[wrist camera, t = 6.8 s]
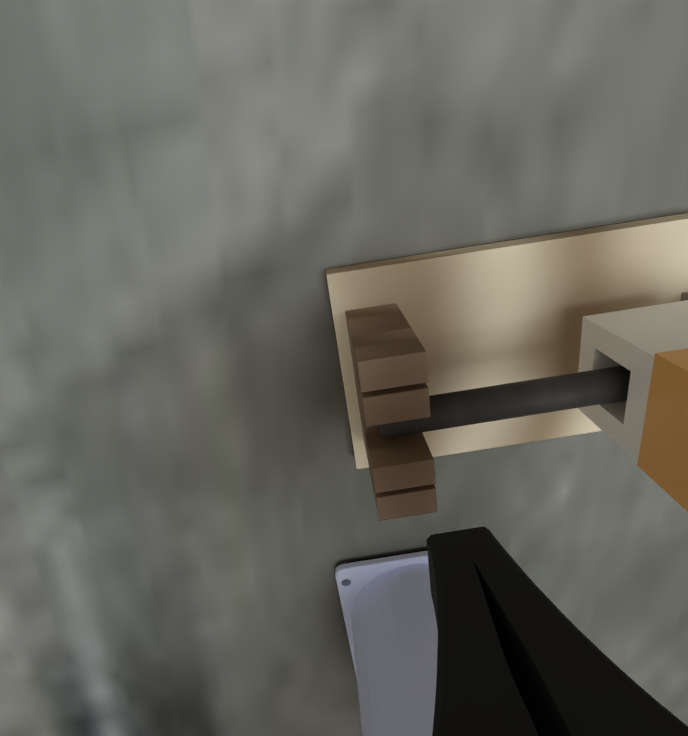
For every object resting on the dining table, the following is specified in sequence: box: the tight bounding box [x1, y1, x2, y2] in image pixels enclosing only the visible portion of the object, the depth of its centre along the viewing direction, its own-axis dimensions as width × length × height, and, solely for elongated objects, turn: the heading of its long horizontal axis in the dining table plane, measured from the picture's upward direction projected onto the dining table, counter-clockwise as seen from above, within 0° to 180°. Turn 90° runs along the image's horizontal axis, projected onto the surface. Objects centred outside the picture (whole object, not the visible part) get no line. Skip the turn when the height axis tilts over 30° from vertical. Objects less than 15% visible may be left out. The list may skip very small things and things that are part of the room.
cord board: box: [326, 213, 688, 521], centre depth 17 cm, size 18×9×6 cm, turn 98°
